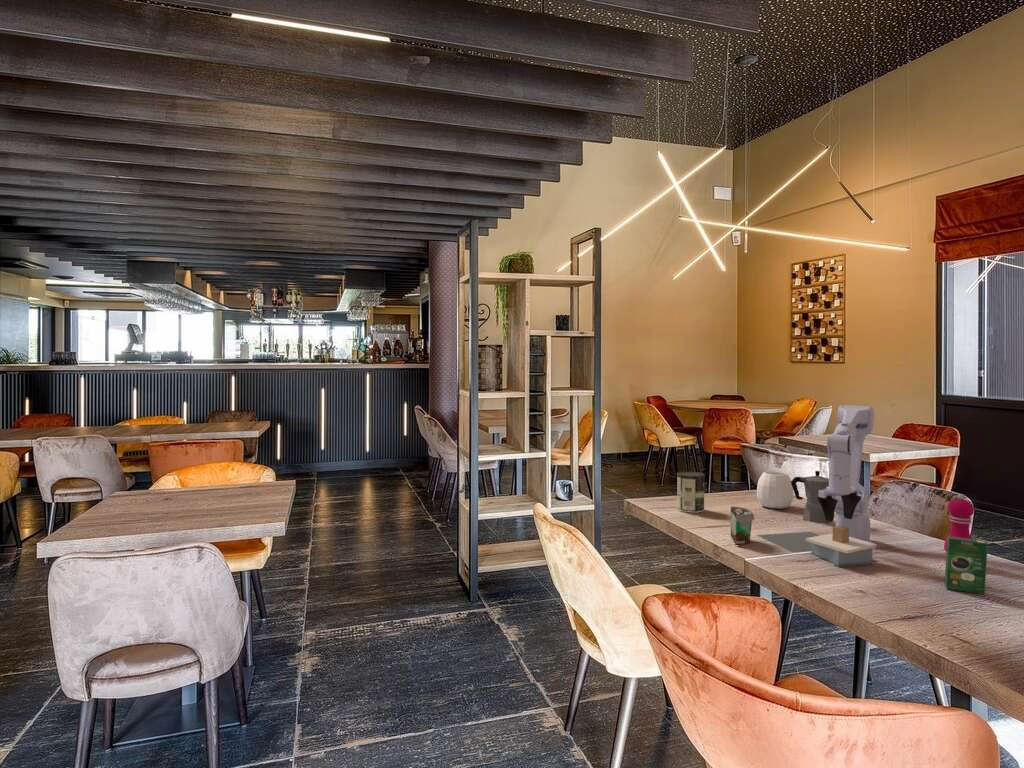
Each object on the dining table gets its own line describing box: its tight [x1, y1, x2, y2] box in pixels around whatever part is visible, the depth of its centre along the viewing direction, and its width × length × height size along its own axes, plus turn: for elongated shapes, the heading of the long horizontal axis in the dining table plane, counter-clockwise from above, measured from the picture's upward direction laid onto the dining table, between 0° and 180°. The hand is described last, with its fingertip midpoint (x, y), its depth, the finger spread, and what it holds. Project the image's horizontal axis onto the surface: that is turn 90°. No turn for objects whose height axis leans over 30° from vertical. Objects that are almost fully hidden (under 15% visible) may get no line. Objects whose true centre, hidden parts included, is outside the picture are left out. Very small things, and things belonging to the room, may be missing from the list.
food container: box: [730, 506, 755, 546], centre depth 193 cm, size 12×6×10 cm, turn 168°
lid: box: [806, 525, 878, 553], centre depth 176 cm, size 13×13×5 cm
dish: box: [810, 543, 874, 568], centre depth 176 cm, size 11×11×4 cm
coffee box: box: [944, 535, 988, 595], centre depth 152 cm, size 8×3×13 cm, turn 61°
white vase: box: [756, 470, 794, 510], centre depth 240 cm, size 13×13×14 cm
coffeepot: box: [791, 470, 831, 524], centre depth 220 cm, size 15×9×18 cm, turn 79°
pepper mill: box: [943, 493, 975, 553], centre depth 172 cm, size 7×7×20 cm
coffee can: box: [676, 471, 706, 514], centre depth 235 cm, size 10×10×14 cm
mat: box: [756, 531, 820, 553], centre depth 193 cm, size 20×18×1 cm
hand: (838, 519), depth 183 cm, fingers open, 7 cm apart
